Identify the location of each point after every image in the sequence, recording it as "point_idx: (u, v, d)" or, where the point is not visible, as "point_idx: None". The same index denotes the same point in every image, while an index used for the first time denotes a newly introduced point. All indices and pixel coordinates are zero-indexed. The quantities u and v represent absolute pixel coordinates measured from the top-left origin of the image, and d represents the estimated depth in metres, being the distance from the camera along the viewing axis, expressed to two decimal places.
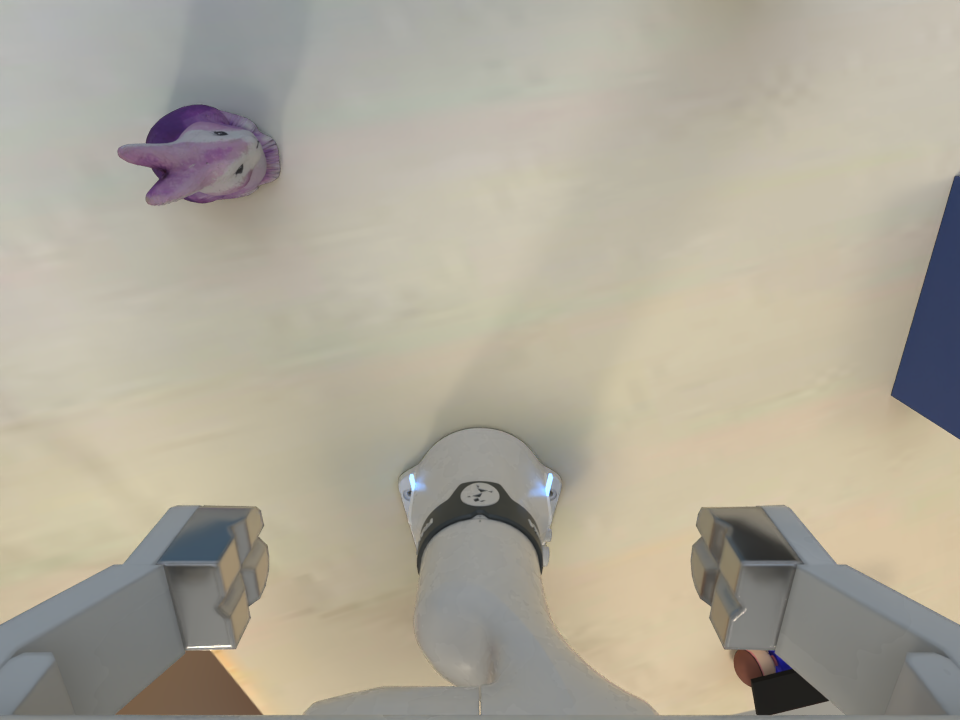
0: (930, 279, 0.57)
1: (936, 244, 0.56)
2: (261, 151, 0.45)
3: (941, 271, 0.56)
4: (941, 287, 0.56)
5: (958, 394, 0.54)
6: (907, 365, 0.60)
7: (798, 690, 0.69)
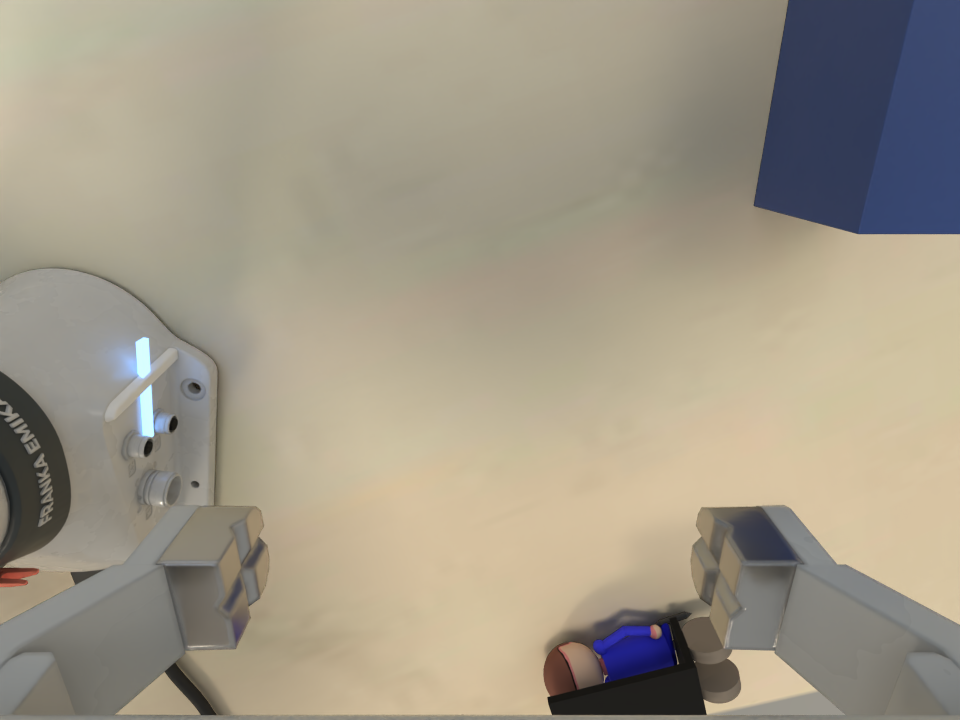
0: None
1: None
2: None
3: None
4: None
5: (842, 142, 0.27)
6: (773, 138, 0.33)
7: None
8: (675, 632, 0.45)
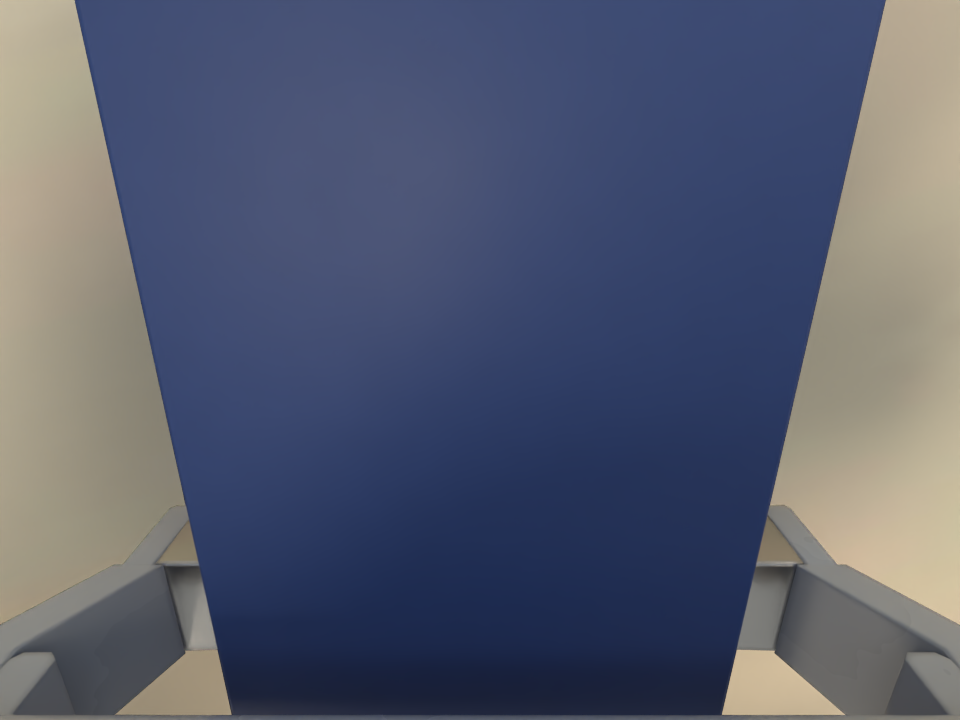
0: None
1: None
2: None
3: None
4: None
5: None
6: None
7: None
8: None
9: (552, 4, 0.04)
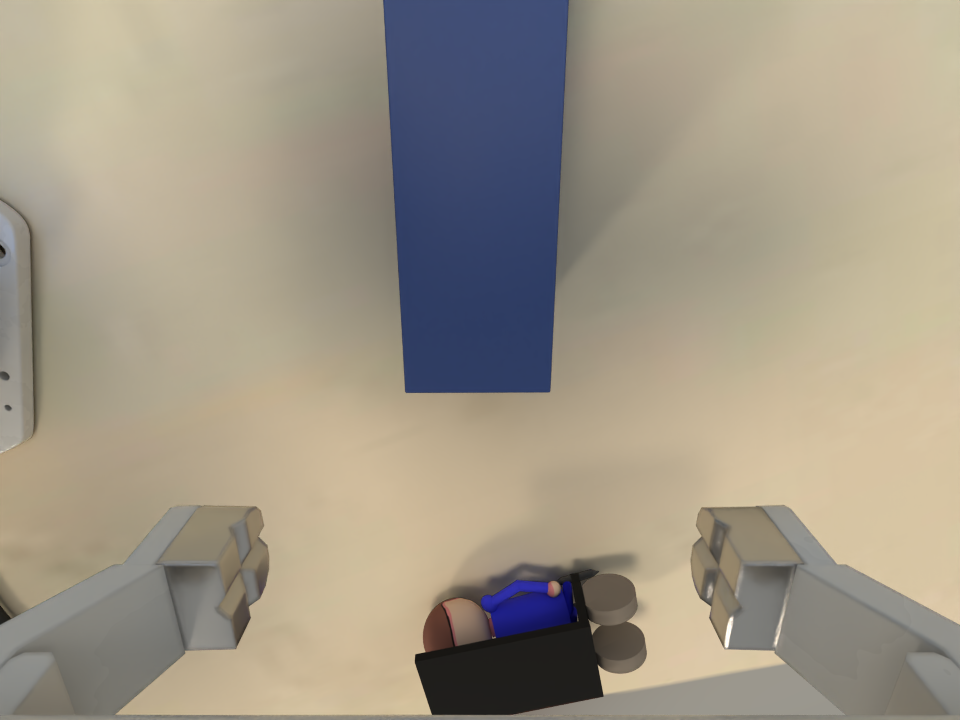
0: None
1: None
2: None
3: None
4: None
5: None
6: None
7: (507, 680, 0.36)
8: (574, 589, 0.39)
9: (492, 97, 0.21)
